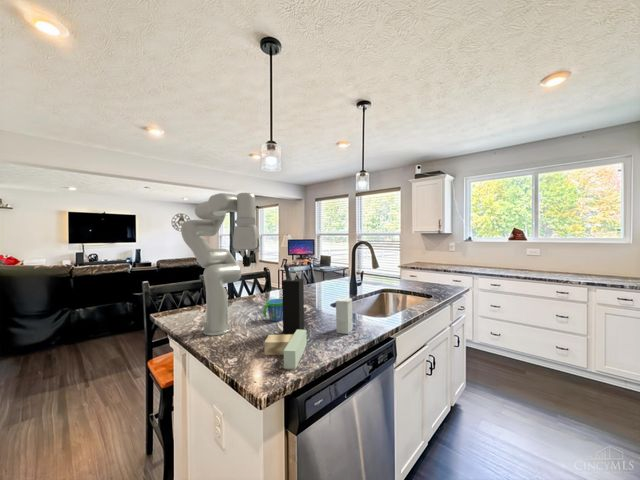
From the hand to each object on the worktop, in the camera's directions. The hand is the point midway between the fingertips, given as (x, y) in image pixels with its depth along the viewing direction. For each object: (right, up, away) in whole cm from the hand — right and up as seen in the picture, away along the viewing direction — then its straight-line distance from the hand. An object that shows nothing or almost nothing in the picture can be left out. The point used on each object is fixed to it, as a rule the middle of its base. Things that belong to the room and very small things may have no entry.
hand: (246, 266), depth 112 cm
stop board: (+22, -32, -13) cm, 41 cm away
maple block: (+15, -32, -8) cm, 36 cm away
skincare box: (+42, -32, +13) cm, 54 cm away
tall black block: (+19, -32, +10) cm, 38 cm away
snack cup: (+7, -32, +32) cm, 46 cm away
